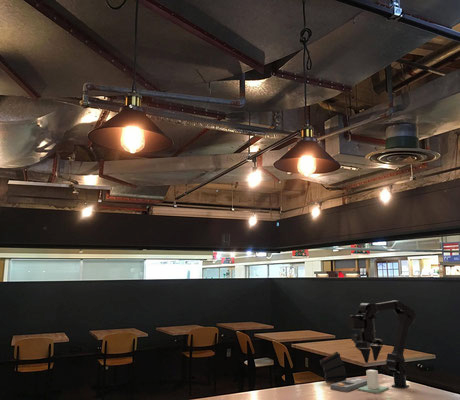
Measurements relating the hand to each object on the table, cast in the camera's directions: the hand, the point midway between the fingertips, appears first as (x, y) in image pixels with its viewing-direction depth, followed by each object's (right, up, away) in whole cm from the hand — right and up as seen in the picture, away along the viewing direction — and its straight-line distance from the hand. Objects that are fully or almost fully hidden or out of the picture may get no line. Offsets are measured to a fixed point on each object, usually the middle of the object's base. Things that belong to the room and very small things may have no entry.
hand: (371, 361), depth 211 cm
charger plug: (0, -12, -3) cm, 12 cm away
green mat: (0, -13, -3) cm, 13 cm away
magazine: (-14, -18, +18) cm, 29 cm away
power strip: (-7, -15, +7) cm, 18 cm away
